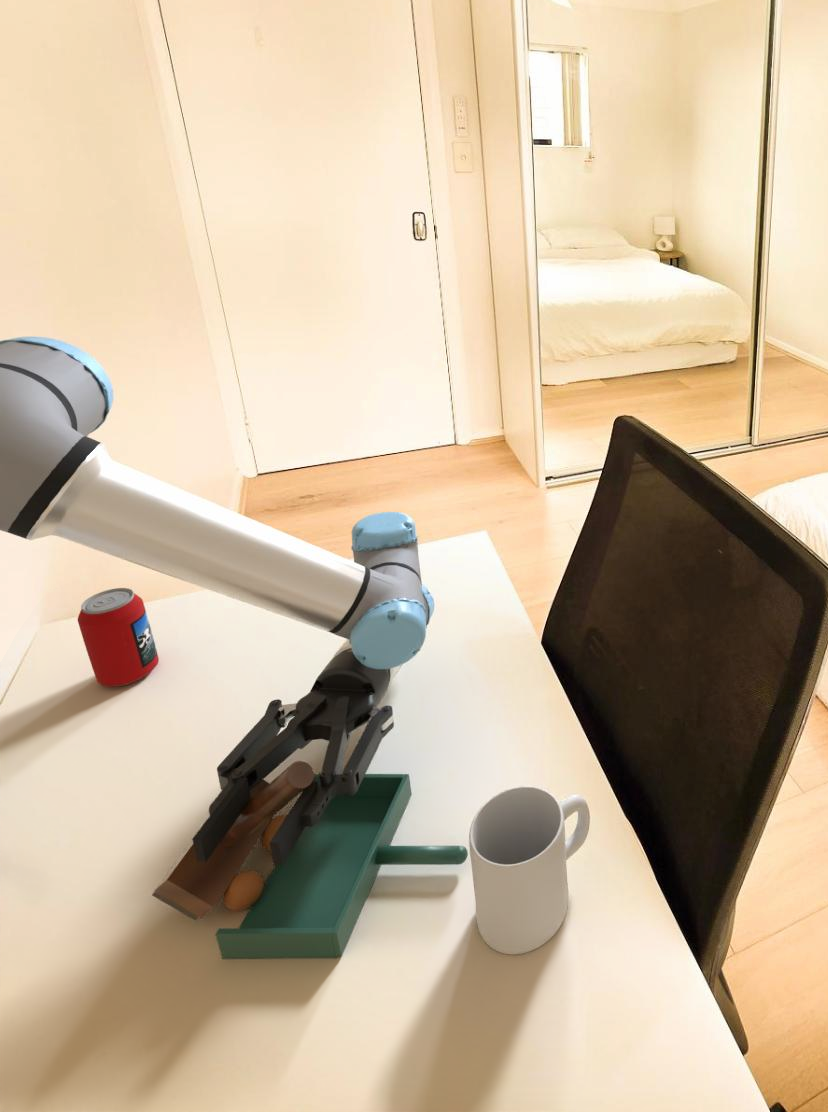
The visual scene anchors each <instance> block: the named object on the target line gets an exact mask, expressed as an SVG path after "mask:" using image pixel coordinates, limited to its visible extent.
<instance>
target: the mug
mask: <svg viewBox="0 0 828 1112" xmlns="http://www.w3.org/2000/svg"><path fill="white" fill-rule="evenodd" d="M574 813H577V822H576V826H575V827H574V831H573V832H572V834H570V836H568V837H567V838H566V827H565V826H566V825H565V821H566V820H567V819H568V818H569V817H570V816H571V815H573V814H574ZM590 813H591V812H590V807H589V805H588V802H587V800H586V799H585V798H584V796H582V795H581V794H578V793H577V794H575V793H574V794H571V795H569V796H567V797H565V798H564V799H562V800H561V801H559V800H558V799H557V797H556V796H555V795H554V794H553V793H551V792H550V791H548V790H546V789H544V788H541V787H539V786H532V785H521V786H515V787H511V788H508V789H505V790H502V791H501V792H499V793H497V794H495V795H493V796H492V797H490V798H489V799H488V800H487V801H486V802H484V804H483V805H482V806H481V807H480V808H479V810H477V812H476V814H475V815H474V817H473V819H472V821H471V824H470V827H469V833H468V845H469V854H470V863H471V873H472V874H471V875H472V882H473V891H474V902H475V916H476V923H477V928H478V931H479V934H480V936H481V938H482V940H483V941H484V942H485V944H487V946H488V947H489V948H491V949H493V950H494V951H496V952H498V953H501V954H505V955H522V954H526V953H529V952H532V951H534V950H537V949H538V948H540V947H542V946H543V945H545V944H546V943H547V942H548V941H550V939H552V938H553V937H554V935H555V934H556V933H557V932H558V931H559V929H560V927H561V926H562V924H563V922H564V920H565V917H566V916H567V915H566V914H567V911H568V905H569V884H568V870H567V869H568V868H567V860H569V859H570V858H571V857H572V856H573V855H574V854H576V853H577V852H578V851H579V850H580V849H581V847H583V845H584V843H585V841H586V840H587V837H588V834H589V831H590V825H591V824H590V823H591V815H590Z"/></svg>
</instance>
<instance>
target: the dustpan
mask: <svg viewBox="0 0 828 1112" xmlns="http://www.w3.org/2000/svg"><path fill="white" fill-rule="evenodd" d="M313 781H315V782H317V784H318V785H319V784H320V778H319V773H314V778H313ZM412 795H413V794H412V786H411V779H410V774H409V773H366V774H365V776H364V778H363V780H362V782H361V784H360V786H359V788H358V790H357V792H356V793H355V794H354V795H353V796H349V797H347V796H345V795H344V794H341V795H337V796H335V798H334V799H332V800H330V802H329V803H328V805H327V807H326V808H325V810H324V812H323V813H322V815H321V816H320V819H319V820H318V822H317V823H316V824H315V825H314V826H313V827H305V829H304V830H303V832H302V834H301V835H300V837H299V839H298V840H297V842H296V843H295V845H294V847H293V848H292V850H291V852H290V853H289V855H288V857H287V858H286V860H285V862H284V863H283V865H274V868H273V869H272V871H271V873H270V874H269V876H268V877H267V880H266V881H265V883H264V884H263V890H262V893H261V895H260V897H259V898H258V900H257V901H256V902H255V903H254V904H253V905H252V906H250V909H249V910H248V912H247V914H246V915H245V917H244V919H243V921H242V922H241V924H240V926H239V927H238V928H237V927H236V928H217V930H216V932H215V933H214V935H215V939H216V941H217V945H218V949H219V951H220V956H221V959H222V960H257V959H258V960H261V959H266V960H267V959H276V960H277V959H337V958H338V957H342V956H343V953H344V951H345V949H346V947H347V945H348V942H349V941H350V938H351V935H352V933H353V931H354V929H355V926H356V924H357V922H358V919H359V917H360V914H361V912H362V910H363V909H364V906H365V903H366V901H367V899H368V896H369V894H370V892H371V889H372V886H373V884H374V883H375V880H376V877H377V875H378V873H379V871H380V868H381V866H394V865H395V866H402V865H403V866H404V865H405V866H415V865H417V866H419V865H420V866H425V865H426V866H429V865H434V866H439V865H440V866H441V865H442V866H445V865H446V866H447V865H448V866H449V865H452V866H453V865H462V864H463V863H465V862H466V860H467V859H468V857H469V856H468V854H469V852H468V849H467V847H466V846H464V845H391V843H392V840H393V838H394V836H395V834H396V832H397V829H398V827H399V826H400V825H399V824H400V822H401V820H402V818H403V815H404V813H405V811H406V809H407V806H408V804H409V801H410V799H411V797H412Z"/></svg>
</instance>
